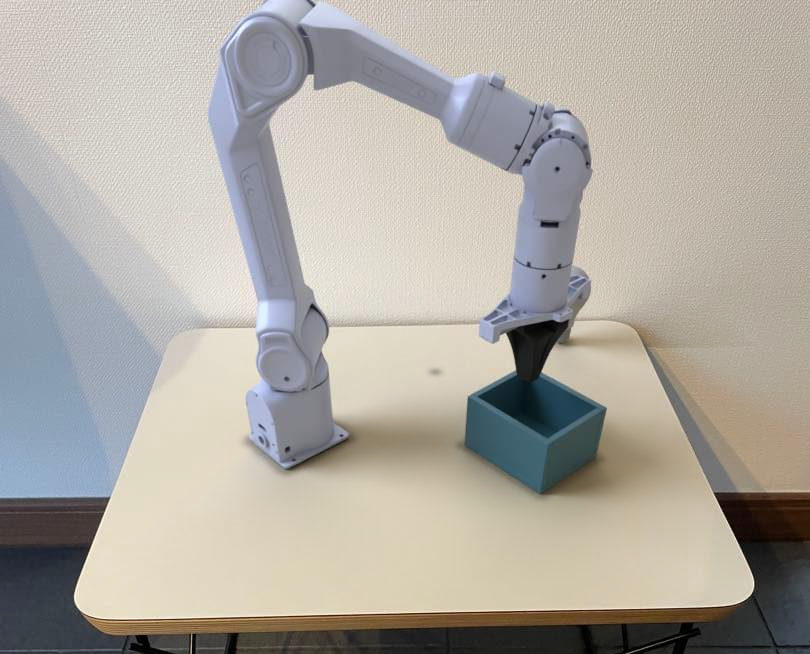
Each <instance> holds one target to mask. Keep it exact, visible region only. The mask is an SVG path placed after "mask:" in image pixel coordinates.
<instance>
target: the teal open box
mask: <svg viewBox="0 0 810 654" xmlns="http://www.w3.org/2000/svg"><path fill="white" fill-rule="evenodd" d="M466 400H467V401H466V402H467V403H466V415H465V416H466V417H465V429H464V431H465V432H464V446H465V447H467V448H468V449H470V450H472V451H473V452H475V453H476V454H477V455H479V456H481V457H482V458H483V459H485V460H486V461H488V462H490V463H491V464H492V465H495V467H497V468H498V469H500V470H502V471H503V472H505V473H507V474H508V475H510V476H511V477H513V478H514V479H516V480H517V481H518V482H521V483H522V484H523V485H525V486H526V487H528V488H530V489H531V490H533V491H534V492H536V493H537V494H539V495H541V494H543V493H544V492H546V491H547V490H549V489H550V488H552V487H553V486H555V485H556V484H558V483H559V482H561V481H562V480H564V479H566V478H567V477H568V476H571V474H573V473H575V472H576V471H577V470H578V469H580V468H582V467H584V466H585V465H586V464H588V463H589V462H591V461H592V460H593V459H595V458H597V455H598V451H599V446H600V441H601V438H602V437H601V436H602V432H603V428H604V423H605V419H606V415H607V410H608V407H606V406H605V405H603V404H601V403H599V402H597V401H595V400H593V399H592V398H590V397H588V396H586V395H584V394H583V393H581V392H579V391H577V390H576V389H573V388H572V387H570V386H568V385H566V384H564V383H562V382H560V381H559V380H557V379H555V378H553V377H551V376H549V375H547V374H545V373H544V372H541V374H540V376H539V378H538V379H537V380H535V381H533V382H531V383H528V382H527V381H525V380H523V379H521V378H520V377H518V376H517V373H516V369H515V370H514V371H511V372H509V373H508V374H506V375H504V376H502V377H501V378H499V379H497V380H495V381H493V382H491V383H489V384H488V385H486V386H484V387H482V388H480V389H478V390H476V391H475V392H473V393H471V394H470V395H467V399H466Z"/></svg>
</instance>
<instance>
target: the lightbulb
mask: <svg viewBox="0 0 810 654" xmlns="http://www.w3.org/2000/svg"><path fill="white" fill-rule="evenodd" d="M576 274H578V275H580V276H582V277H585V278H587V279H589V280H591V279H590V277H589V275H588V274H587V272H586V271H585V270H584V269H582V268H581V267H580V266H579V267H578V266H576V265H572V269H571V276H574V275H576ZM571 276H570V277H571ZM591 292H592V284H591V285H590V291H589V296H588V298H586V299H584V300H580V299H578V298H577V299H576V300H575V301H574V303H573V304H572V305H571V306H570V307H569V308H571V309H572V310H573V314H572V317H571V318H569V324H568V328H567V329H566V330H565V331H564V332H563V334H562V335H561V336H560V337H559V339H558V340H557V342H556V343H557V344H562V343H564V342H565V343H566V342H567V341H568V340H569V339H570V335H571V332H572V328H574V325H575V321H576V318H577V316H578V314H579V312H580V311H581V310H582V309H583V307H584V306H585V305H586V303H587V302H588V301H589V298H590V296H591Z"/></svg>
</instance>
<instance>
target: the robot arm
mask: <svg viewBox="0 0 810 654" xmlns="http://www.w3.org/2000/svg"><path fill="white" fill-rule="evenodd" d="M218 51H219V63H218V67H217V72H216V75H215V78H214V79H215V80H214V84H213V87H212V91H211V96H210V100H209V104H208V107H207V108H208V109H207V119H208V125H209V129H210V132H211V135H212V139H213V142H214V147H215V149H216V153H217V156H218V161H219V166H220V168H221V173H222V175H223V179H224V183H225V187H226V191H227V194H228V197H229V202H230V206H231V208H232V211H233V215H234V216H233V217H234V219H235V223H236V227H237V231H238V234H239V236H240V238H239V239H240V241H241V245H242V248H243V253H244V255H245V256H244V257H245V260H246V264H247V267H248V270H249V274H250V278H251V280H252V281H251V282H252V285H253V289H254V293H255V296H256V300H257V307H256V319H255V320H256V321H255V336H256V339H257V345H258V347H257V348H258V349H257V353H256V356H255V366H256V369H257V372H258V374H259V376H260V377H261V379H260V381H259V382H258V383H257V384H255V385H254V386H253V387H251V388H250V389H249V390H247V392H245V393H246V394H245V405H246V409H247V410H246V411H247V416H248V421H249V426H250V434H249V436H248V437H249V441H251V442H252V443H253V444H255V446H257V447H258V448H259V449H261V450H262V451H263V452H264V453H265V454H266V455H267V456H269V457H270V458H271V459H272V460H273V461H275V462H276V463H277V464H279V466H281V468H283V469H285V470H287V469H288V470H289V469H290V468H292V467H294V466H296V465H299V464H301V463H302V462H304V461H306V460H307V459H310V458H312V457H314V456H316V455H318V454H320V453H321V452H324V451H326V450H327V449H329V448H331V447H333V446H335V445H337V444H339V443H341V442H343V441H345V440H347V439H349V437H350V434H349V432H348V431H347V430H345V429H344V428H342V427H341V426H339V424H337V423H336V422H334V416H333V415H334V414H333V405H332V404H333V403H332V392H331V391H332V390H331V381H330V369H329V364H328V362H327V360H326V358H325V356H324V353H323V348H324V345H325V344H326V342H327V340H328V337H329V336H330V335H329V334H330V324H329V319H328V318H327V316H326V314H325V313H324V312H323V310H322V309H321V308H320V307H319V305H318V303H317V299H316V297H315V293H314V290H313V289H312V288H311V287H310V286H309V285H307V284H306V283H305V279H304V278H305V277H304V274H303V270H302V265H301V260H300V257H299V252H298V247H297V242H296V238H295V233H294V229H293V225H292V221H291V216H290V211H289V205H288V202H287V198H286V194H285V189H284V183H283V179H282V176H281V171H280V168H279V167H280V165H279V162H278V158H277V153H276V148H275V144H274V139H273V136H272V131H271V127H270V123H271V120H272V119H273V117H274V116H275V114H276V113H277V111H278V109H280V107H281V106H282V105H284V104H285V103H286V102H287V101H289V100H290V99H292V98H293V97H294V96H296V95H297V94H298V93H299V91H301V89H302V88H303V85H304V83H305V82H306V79H307V77H308V76H309V75H313V91H315V92H316V91H322V90H325V89H329V88H332V87H336V86H340V85H342V84H346V83H350V82H351V83H352V82H353V83H358V84H359V85H361V86H363V87H366V88H369V89H370V90H373V91H375V92H376V93H380V94H381V95H383V96H386V97H388V98H390V99H393V100H394V101H397V102H399V103H401V104H403V105H406V106H408V107H410V108H413V109H415V110H417V111H419V112H421V113H424V114H426V115H428V116H430V117H433V118H435V119H437V120H438V121H439V122H440V124H441V126H442V129H443V132H444V135H445V138H446V140H447V142H448V143H450V144H452V145H454V146H455V147H458V148H459V149H462V150H463V151H465V152H467V153H468V154H469V153H470V154H472V155H473V156H475V157H477V158H479V159H481V160H483V161H485V162H487V163H489V164H490V165H492V166H495V167H497V168H499V169H501V170H502V171H505V172H507V173H508V174H511V175H518V176H522V177H521V178H522V180H523V193H522V201H521V202H520V204H519V206H518V211H517V222H516V231H515V239H514V240H515V241H514V251H513V258H512V267H511V277H510V278H511V279H510V287H509V293H508V294H507V295H506V296H505V297H504V298H503V299H501V300H500V302H499V303H498V304H497V305H496V306H495V307H494V308H493V309H492V310H491V311H490V312H489V313H488V314H487V315H484V316H483V317H481V318H479V326H478V337H479V338H481V339H482V340H484V341H486V342H488V343H490V344H491V345H494V344H496V343H498V342H500V338H501V336H503V335H506V337H507V338H508V341H509V344H510V347H511V350H512V354H513V360H514V366H515V370H516V373H517V376H518V377H520V378H521V379H523V380H525V381H527V382H528V383H531V382H533V381H535V380H537V379H538V378H539V376H540V374H541V372H542V371H543V369H544V368H545V365H546V362H547V360H548V358H549V356H550V354H551V352H552V350H553V348H554V346H555V345H556V343H557V340H558V339H559V337H560V336H561V335H562V334H563V332H564V331H565V330H566V329H567V328H568V324H569V318H571V317H572V314H573V310H572V309H571V308H569V307H570V306H571V305H572V304H573V303H574V301H575V300H576V299H577V298H578V299H580V300H584V299H586V298H588V296H589V291H590V285H591V286H592V279H590V278H589V279H590V280H589V279H587V278H585V277H582V276H580V275H578V274H576V275H574V276H571V269H572V266H573V262H574V257H575V251H576V244H577V240H578V239H577V238H578V232H579V226H580V220H581V214H582V212H581V207H580V206H581V203H582V200H583V197H584V190H585V189H586V188H587V187H588V185H589V183H590V181H591V179H592V175H593V172H594V170H593V168H592V155H591V154H592V153H591V148H590V147H591V146H590V141H589V136H588V133H587V128H585V126H584V124H583V122H582V121H581V120H580V119H579V118H578V117H577V116H576V115H574V114H573V113H572V112H571V110H570V109H568V108H557V107H555V105H553V104H552V103H550V102H548V101H544V102H543V104H542V105H540V104H538V103H537V102H535V101H533V100H531V99H529V98H527V97H525V96H523V95H522V94H520V93H519V92H516V91H514V90H512V89H511V88H509V87H507V86H505V84H506V77H505V76H504V75H503V74H501V73H499V72H497V71H495V70H492V71H490V74H489V76H486V75H484V74H482V73H480V72H479V71H477V72H472V73H470V74H468V75H465V76H462V77H458V78H454V77H453V76H451V75H449V74H447V73H446V72H444V71H443V70H441V69H439V68H437V67H436V66H434V65H433V64H431V63H430V62H428V61H426V60H424V59H423V58H422V57H420V56H418V55H416V54H414V53H412V52H411V51H409V50H407V48H404V47H402V46H400V44H397V43H396V42H394V41H393V40H390V39H389V38H387V37H385V36H384V35H382V34H381V33H379V32H377V31H375V30H374V29H372V28H370V27H369V26H367V25H365V24H364V23H362V22H360V21H359V20H357V19H356V18H354V17H352V16H351V15H349V14H348V13H346V12H344V11H343V10H341V9H339V8H338V7H336V6H335V5H333V4H330V3H327V2H324V1H318V3H316V2H315V0H264V1H263V2H262V3H261V5H260V6H259V7H258V8H256V9H255V10H254V11H253V12H250V13H248V14H247V15H245V16H243V18H241V20H239V21H238V23H237V24H236V25H235V27H234V28H233V29H232V31H231V32H230V34H229V35H228V36H227V38H226V39H225V40H224V42H223V43H222V44H221V46H220V47H219V50H218ZM570 276H571V277H570ZM589 297H590V296H589ZM588 299H589V298H588ZM542 373H543V372H542Z"/></svg>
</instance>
